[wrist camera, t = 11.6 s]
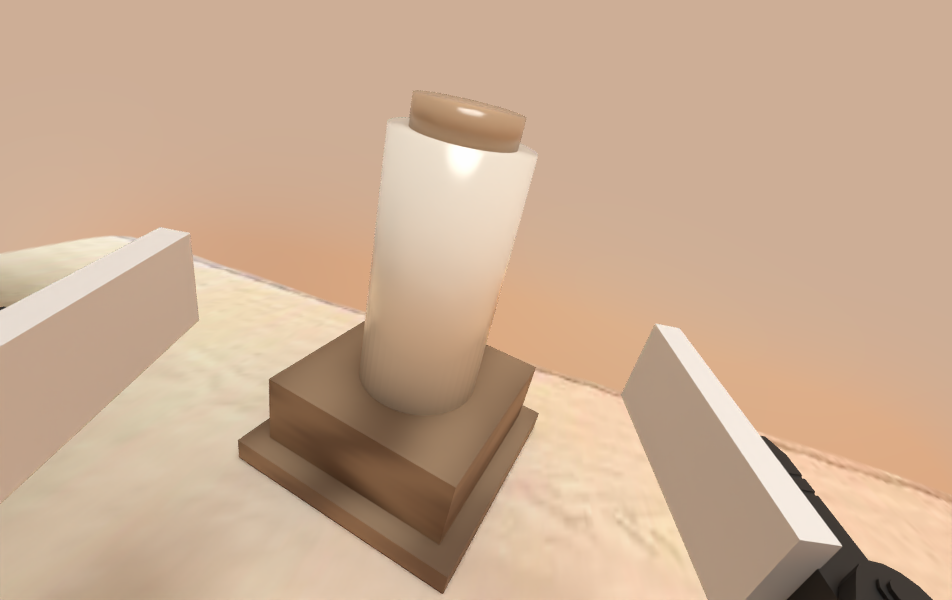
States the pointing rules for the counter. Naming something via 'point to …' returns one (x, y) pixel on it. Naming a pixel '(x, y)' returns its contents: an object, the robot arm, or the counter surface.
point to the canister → (441, 248)
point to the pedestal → (393, 454)
